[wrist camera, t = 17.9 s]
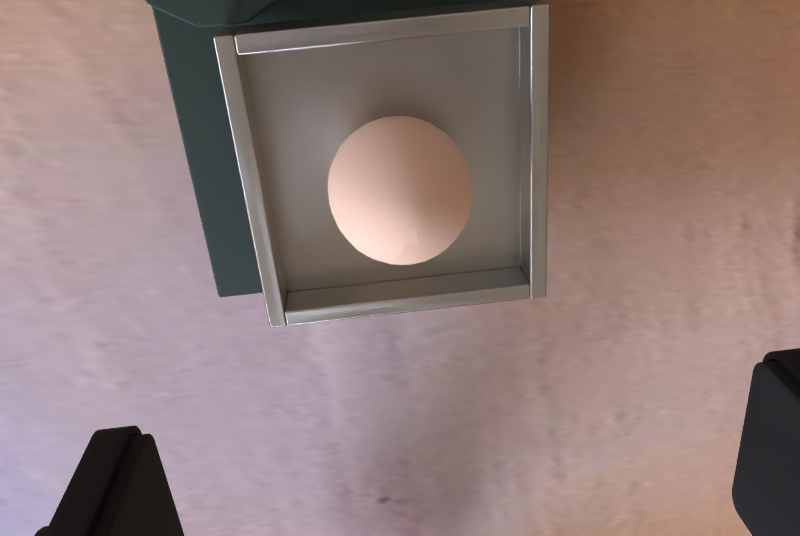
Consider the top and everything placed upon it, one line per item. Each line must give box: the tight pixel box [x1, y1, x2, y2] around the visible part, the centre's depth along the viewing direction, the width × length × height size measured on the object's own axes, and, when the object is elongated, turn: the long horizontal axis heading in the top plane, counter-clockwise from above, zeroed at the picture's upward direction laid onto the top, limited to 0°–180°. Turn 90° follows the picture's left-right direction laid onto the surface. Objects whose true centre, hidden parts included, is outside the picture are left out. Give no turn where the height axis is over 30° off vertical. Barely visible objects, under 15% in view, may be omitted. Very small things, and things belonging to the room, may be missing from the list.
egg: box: [328, 116, 472, 265], centre depth 21 cm, size 4×4×6 cm
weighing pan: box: [213, 0, 550, 327], centre depth 24 cm, size 10×10×2 cm
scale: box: [145, 0, 499, 297], centre depth 25 cm, size 16×13×3 cm
